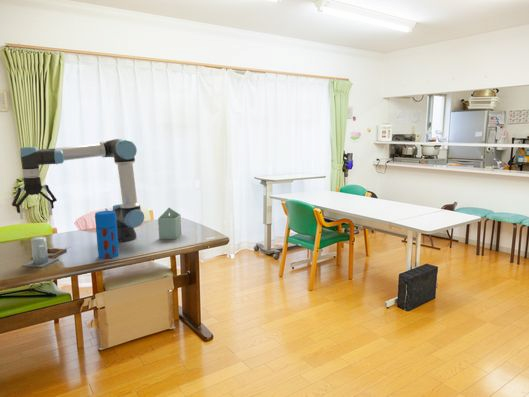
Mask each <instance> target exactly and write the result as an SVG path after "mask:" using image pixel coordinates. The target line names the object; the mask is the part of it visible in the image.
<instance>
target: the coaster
mask: <svg viewBox="0 0 529 397" xmlns="http://www.w3.org/2000/svg"><path fill="white" fill-rule="evenodd" d="M57 261H59V258H53V259H50V258H48V262H46V263H43V264H33V260H32V261H28V262H26V263H24V264H22V265H21V267H22V268H23V267H24V268H45V267H47V266H49V265H51V264H53V263H55V262H57Z"/></svg>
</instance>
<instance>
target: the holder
mask: <svg viewBox="0 0 529 397" xmlns="http://www.w3.org/2000/svg"><path fill="white" fill-rule="evenodd" d="M47 252H48V253H49V252H50V253H53V254H48V258H50V259H56V258H58V257H59V256H62V255H65V253H67V252H68V251H67V248H55V247H47Z"/></svg>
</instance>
